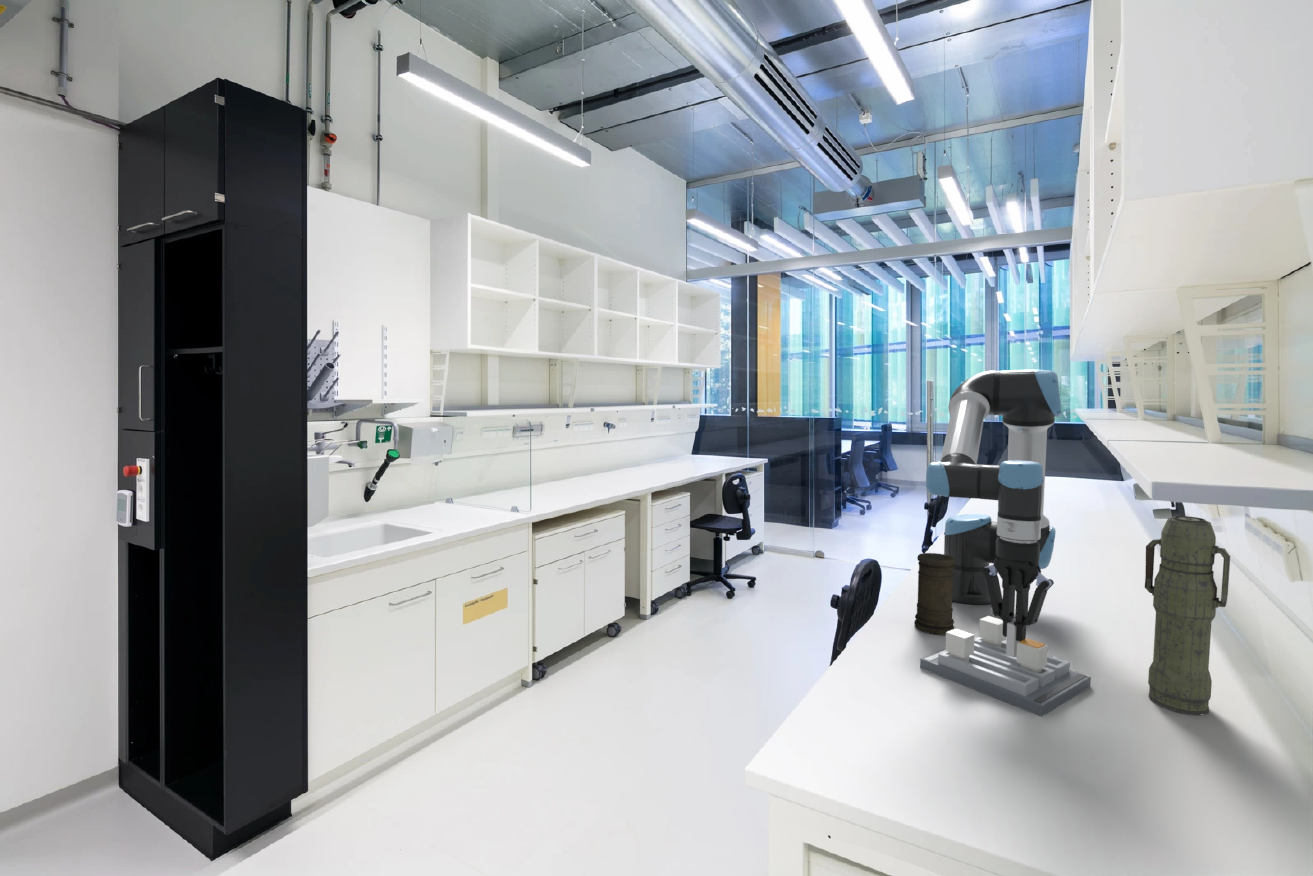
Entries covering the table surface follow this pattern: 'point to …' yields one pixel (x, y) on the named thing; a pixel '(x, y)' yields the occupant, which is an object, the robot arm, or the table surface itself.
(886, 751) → the table surface
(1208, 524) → the thermos
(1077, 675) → the panel
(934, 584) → the container
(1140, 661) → the table surface
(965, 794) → the table surface
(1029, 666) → the handle
